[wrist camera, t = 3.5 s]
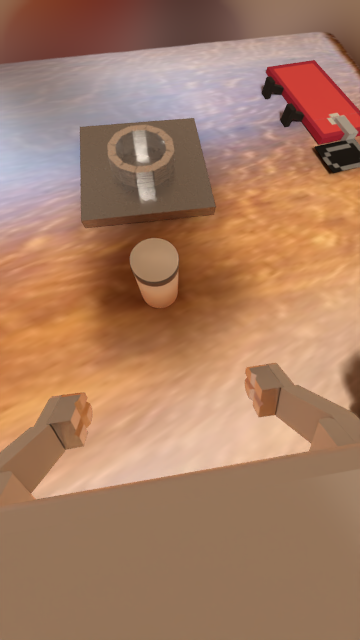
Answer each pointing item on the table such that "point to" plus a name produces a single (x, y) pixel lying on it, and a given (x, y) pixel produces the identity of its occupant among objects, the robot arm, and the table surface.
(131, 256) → the banded peg cylinder
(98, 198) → the ring mount
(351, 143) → the red board with handle
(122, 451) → the table surface
